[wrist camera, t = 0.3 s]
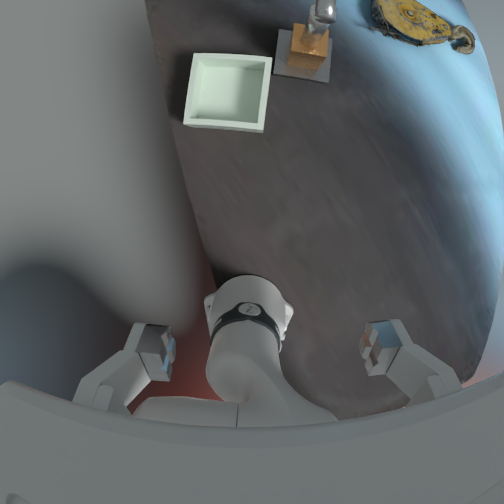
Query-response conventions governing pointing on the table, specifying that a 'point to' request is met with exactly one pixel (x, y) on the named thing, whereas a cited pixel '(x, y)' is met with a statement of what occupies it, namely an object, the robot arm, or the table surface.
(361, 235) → the table surface
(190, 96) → the bin
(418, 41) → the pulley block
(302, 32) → the strut
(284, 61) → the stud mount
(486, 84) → the table surface
